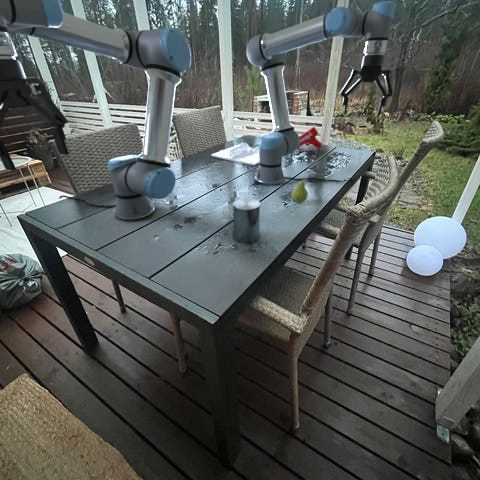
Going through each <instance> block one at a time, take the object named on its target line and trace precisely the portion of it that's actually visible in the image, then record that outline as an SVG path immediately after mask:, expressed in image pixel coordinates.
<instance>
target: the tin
mask: <svg viewBox="0 0 480 480" xmlns="http://www.w3.org/2000/svg"><path fill="white" fill-rule="evenodd" d="M232 207H233V237H234V239H235V241H237V242H239V243H243V244H245V243H246V244H250V243H254V242H256V241H258V239H259V238H260V219H261V218H260V217H261V202H260V201H259V200H257V199H255V198H248V197H244V198H238V199H236V200H235V201H234V202H233V205H232Z"/></svg>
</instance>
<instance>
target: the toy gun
mask: <svg viewBox="0 0 480 480" xmlns="http://www.w3.org/2000/svg"><path fill="white" fill-rule="evenodd" d="M318 134H319V131H318V130H317V128H316V127H315V126H312V127H311V128H310V129H308V130H307V131H305V132H303V133H302V134H300V135H299V139H300V143H299V146H298V147H299V148H300V147H302V146H304V145H305V146H306V147H309V146H310V145H312V146H313V147H314V148H316V147H318V149H319V147H320V149H321V148H322V145H323V143H322V142H321V140H320V141H319V140H318V138H317V136H318Z"/></svg>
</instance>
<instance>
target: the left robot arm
mask: <svg viewBox="0 0 480 480" xmlns="http://www.w3.org/2000/svg"><path fill="white" fill-rule="evenodd" d="M10 32H13V33H16V34H21V35H23V36H28V37H33V38H38V39H41V40H45V41H48V42H52V43H55V44H59V45H63V46H67V47H70V48H75V49H78V50H82V51H84V52H85V51H86V52H88V53H89V52H90V53H93V54H97V55H101V56H103V57H108V58H111V59H113V60H114V61H115V62H116V63H118V64H121V65H124V66H128V67H131V68H134V69H137V70H140V71H144V72H145V74H146V75H147V77H148V88H147V89H148V90H147V98H146V109H145V111H146V112H145V121H144V129H143V141H142V150H141V153H140V154H138V155H136V154H130V155H122V156H118V157H115V158H114V157H113V158H112V159H110V160H108V162H107V169H108V172H109V176H110V180H111V183H112V187H113V190H114V193H115V197H116V202H115V204H110V205H109V204H95V203H91V202H90V201H89V200H87V199H85V198H81V197H72V196H68V195H64V194H63V195H60V196H59V197H58V199H62V198H66V199H70V200H77V201H82V202H86V203H87V204H88V205H90V206H92V207H98V208H115V215H116V218H117V219H119V220H120V221H125V222H127V221H128V222H132V221H133V222H134V221H140V220H144V219H146V218H148V217H151V216H152V215H153V214H154V213H155V210H156V209H155V205H154V202H153V201H151V199H155V200H162V199H165V198H167V197H168V196H169V195H170V194H171V193H172V192H173V191H174V189H175V186H176V175H175V172H174V171H173V170H172V169H171V167H172V162H171V161H170V159H169V157H168V153H169V145H170V136H171V128H172V120H173V112H174V111H173V110H174V102H175V94H176V87H177V86H178V85H179V84H180V83H181V82H182V76H183V74H184V73H186V72H187V71H188V70H189V69H190V67H191V65H192V52H191V47H190V44H189V43H188V42H189V41H188V40H187V38H186V36H185V35H184V34H183V33H182V32H181V31H180V30H179V29H177V28H174V27H162V28H155V29H142V30H127V29H123V28H121V27H116V28H114V29H112V28H109V27H108V26H104V25H101V24H98V23H96V22H92V21H90V20H87V19H84V18H81V17H78V16H75V15H73V14H70V13H68V12H64V10H63V7H62V4H61V0H0V131H1V130H2V127H3V124H4V121H5V118H6V115H7V113H8V112H9V110H17V109H21V108H22V109H26V108H28V109H30V110H31V111H32V112H34V113H35V114H37V115H38V116H39V117H40V118H42V120H44V121H46V123H48V124H49V125H51V126H52V127H49V129H50V132H51V134H52V137H53V140H54V143H55V145H56V149H57V151H58V154H59V155H65V156H68V155H70V153H69V150H68V147H67V144H66V141H67V137H66V134H65V131H64V129H63V128H65V127H66V125H65V124H67V125H68V123H69V120H68V119H67V117H66V116H65V115H64V114H63V112H62V111H61V109H60V108H58V106H57V105H56V103H55V102H54V101H53V100H52V98H51V97H50V96H49V95H48V93H47V91H46V89H45V87H44V85H43V84H42V83H35V82H34V83H31V84H29V83H28V82H27V76H26V73H25V71H24V67H23V65H22V63H21V61H20V60H19V59H16V57H18V53H17V50H16V48H15V45H14V42H13V39H12V36H11V33H10ZM32 95H35V96H36V98H37V99H38V100H39V101H40V103H41V104H42V105H43V106H44V107H45V108H46V109H45V108H44V107H43V106H41V105H40V103H39V102H38V101H37V100H35V99H34V98H33V97H32ZM0 161H1V163H2V166H3V167H4V169H5V170H8V171H17V168H16V166H15V164H14V162H13V159H12V157H11V155H10V153H9V151H8V149H7V147H6V144H5V142H4V140H3V139H0Z"/></svg>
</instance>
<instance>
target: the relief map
mask: <svg viewBox="0 0 480 480" xmlns="http://www.w3.org/2000/svg"><path fill="white" fill-rule="evenodd" d="M259 151H260V146H257V147H255V148H254V147H252V146H250V145H249V144H248V143H247V142H243V141H241V142H240V143H239V144H236V145H234V146H232V147H228V148H226V149H221V150H219V151H218V152H215V153H211V155H210V157H213V158H218V159H221V160H226V161H231V162H235V163H240V164H245V165H250V166H256V165H259Z"/></svg>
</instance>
